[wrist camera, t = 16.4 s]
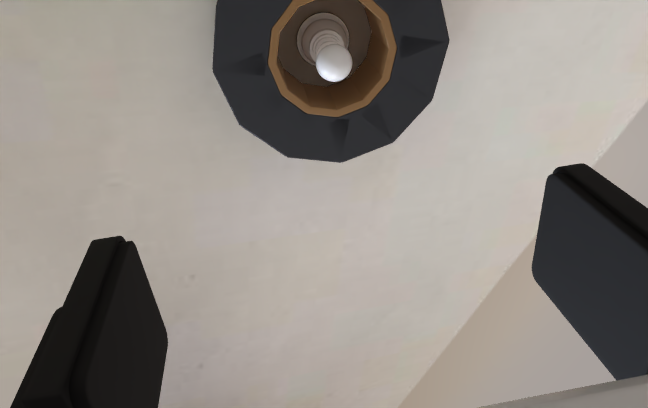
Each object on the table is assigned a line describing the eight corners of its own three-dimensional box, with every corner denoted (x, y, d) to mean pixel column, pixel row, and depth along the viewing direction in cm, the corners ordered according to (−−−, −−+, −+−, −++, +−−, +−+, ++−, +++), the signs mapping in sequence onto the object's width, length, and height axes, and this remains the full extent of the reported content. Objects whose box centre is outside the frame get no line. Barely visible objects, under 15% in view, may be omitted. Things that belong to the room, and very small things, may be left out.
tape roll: (177, 56, 26) (167, 76, 22) (307, -138, 22) (317, -146, 19) (333, 165, 30) (343, 196, 27) (462, 20, 27) (491, 35, 24)
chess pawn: (349, 11, 26) (369, 32, 22) (347, 65, 27) (365, 94, 23) (296, 11, 25) (305, 32, 21) (296, 66, 27) (305, 96, 23)
